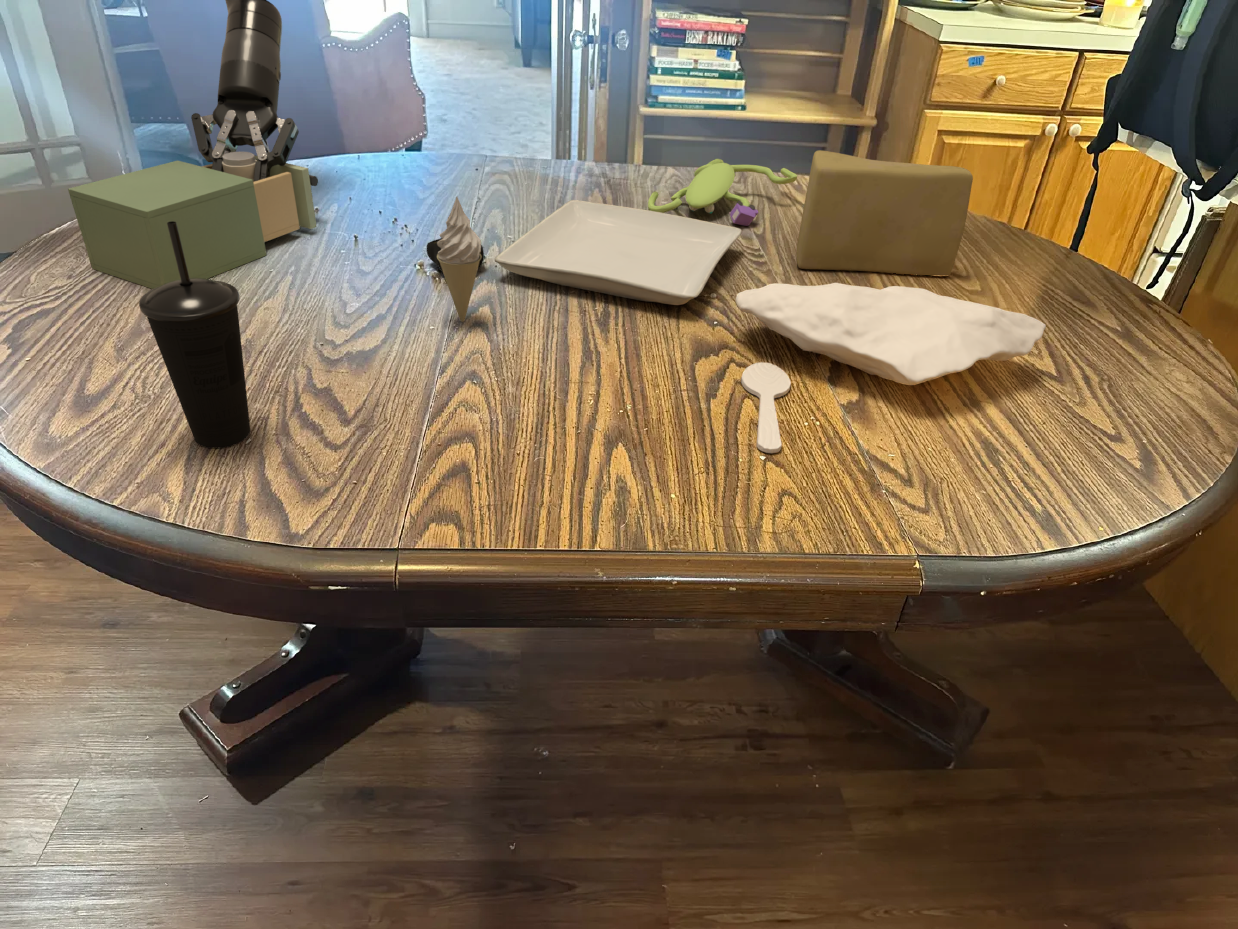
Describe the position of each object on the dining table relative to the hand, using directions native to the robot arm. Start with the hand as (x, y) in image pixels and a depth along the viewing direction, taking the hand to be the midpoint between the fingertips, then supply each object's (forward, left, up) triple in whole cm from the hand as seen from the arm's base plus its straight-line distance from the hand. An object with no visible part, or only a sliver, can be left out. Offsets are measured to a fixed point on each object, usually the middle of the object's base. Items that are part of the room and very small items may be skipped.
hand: (239, 189), depth 114 cm
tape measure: (+29, +8, -7) cm, 31 cm away
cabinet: (-1, -10, -7) cm, 13 cm away
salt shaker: (-1, +2, -4) cm, 4 cm away
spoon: (+77, -3, -7) cm, 77 cm away
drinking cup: (+35, -36, -7) cm, 51 cm away
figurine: (+48, +58, -7) cm, 75 cm away
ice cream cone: (+39, -4, -7) cm, 40 cm away
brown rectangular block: (+77, +44, -7) cm, 89 cm away
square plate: (+47, +23, -7) cm, 53 cm away
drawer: (-1, +2, -6) cm, 7 cm away
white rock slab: (+85, +14, -7) cm, 86 cm away
